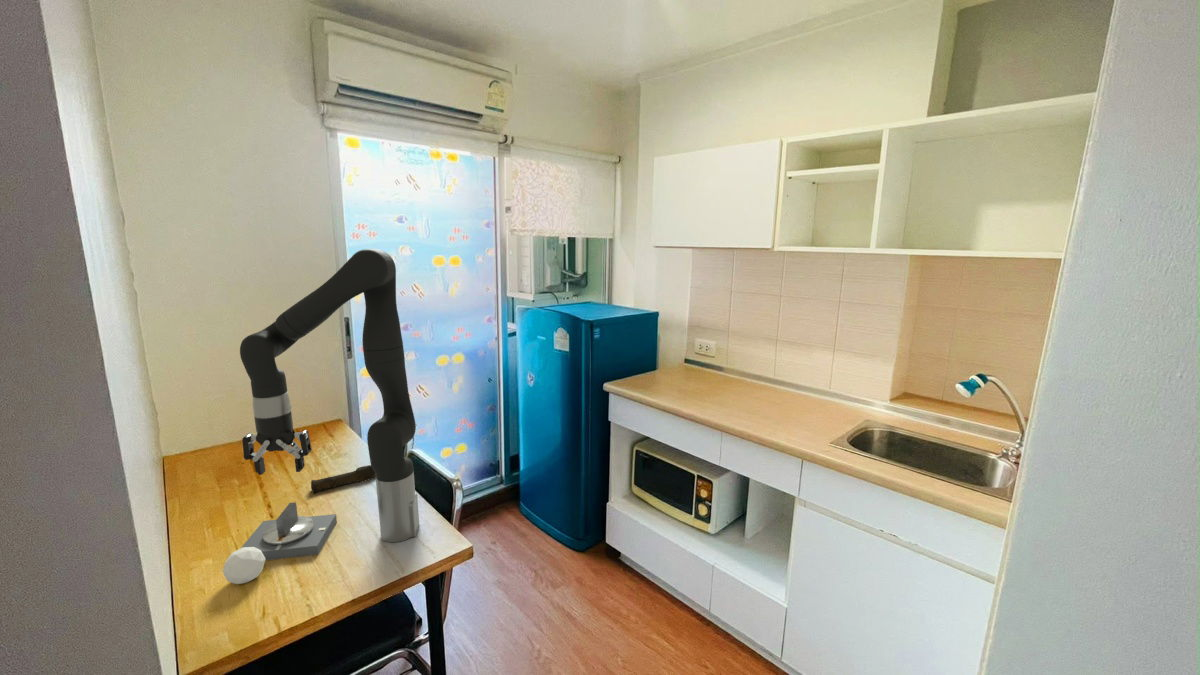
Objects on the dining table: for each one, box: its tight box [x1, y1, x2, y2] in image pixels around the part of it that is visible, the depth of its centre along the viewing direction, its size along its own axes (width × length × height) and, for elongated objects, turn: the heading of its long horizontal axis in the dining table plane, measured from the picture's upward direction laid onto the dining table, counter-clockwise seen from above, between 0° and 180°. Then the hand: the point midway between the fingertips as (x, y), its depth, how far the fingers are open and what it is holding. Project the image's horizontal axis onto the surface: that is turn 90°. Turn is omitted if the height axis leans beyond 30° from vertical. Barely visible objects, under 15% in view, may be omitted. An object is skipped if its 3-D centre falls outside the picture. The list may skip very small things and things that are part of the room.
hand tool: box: [310, 464, 376, 494], centre depth 151 cm, size 19×4×5 cm, turn 121°
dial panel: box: [239, 513, 338, 561], centre depth 123 cm, size 18×14×3 cm
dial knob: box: [263, 501, 314, 545], centre depth 122 cm, size 11×11×6 cm
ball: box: [222, 546, 266, 585], centre depth 109 cm, size 8×8×8 cm
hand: (280, 472), depth 119 cm, fingers open, 8 cm apart
